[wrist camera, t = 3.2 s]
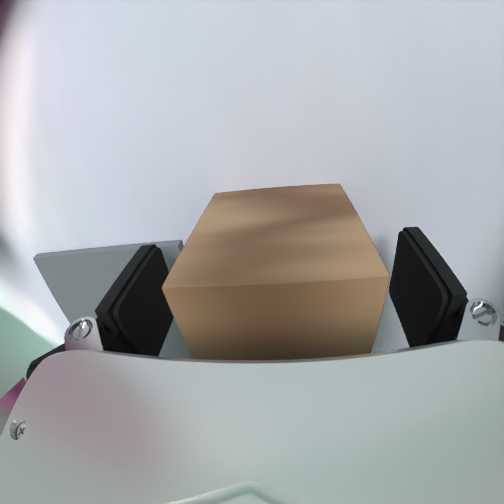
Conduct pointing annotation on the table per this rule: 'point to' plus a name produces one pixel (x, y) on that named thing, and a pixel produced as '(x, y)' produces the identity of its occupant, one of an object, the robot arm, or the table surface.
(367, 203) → the table surface
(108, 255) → the felt pad
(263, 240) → the walnut block
